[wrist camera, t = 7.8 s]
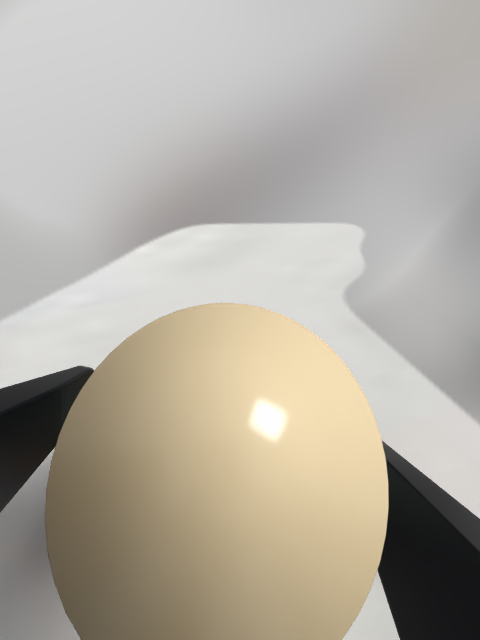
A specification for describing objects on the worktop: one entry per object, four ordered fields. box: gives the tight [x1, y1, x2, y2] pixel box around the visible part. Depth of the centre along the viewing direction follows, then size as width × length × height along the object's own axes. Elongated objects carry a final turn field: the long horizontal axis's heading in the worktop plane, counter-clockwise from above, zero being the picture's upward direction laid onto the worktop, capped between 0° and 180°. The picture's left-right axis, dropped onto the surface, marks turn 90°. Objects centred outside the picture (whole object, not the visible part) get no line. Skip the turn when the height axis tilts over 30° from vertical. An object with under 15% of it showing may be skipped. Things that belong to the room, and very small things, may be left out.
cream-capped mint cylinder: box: [45, 303, 389, 640], centre depth 9 cm, size 5×5×12 cm
